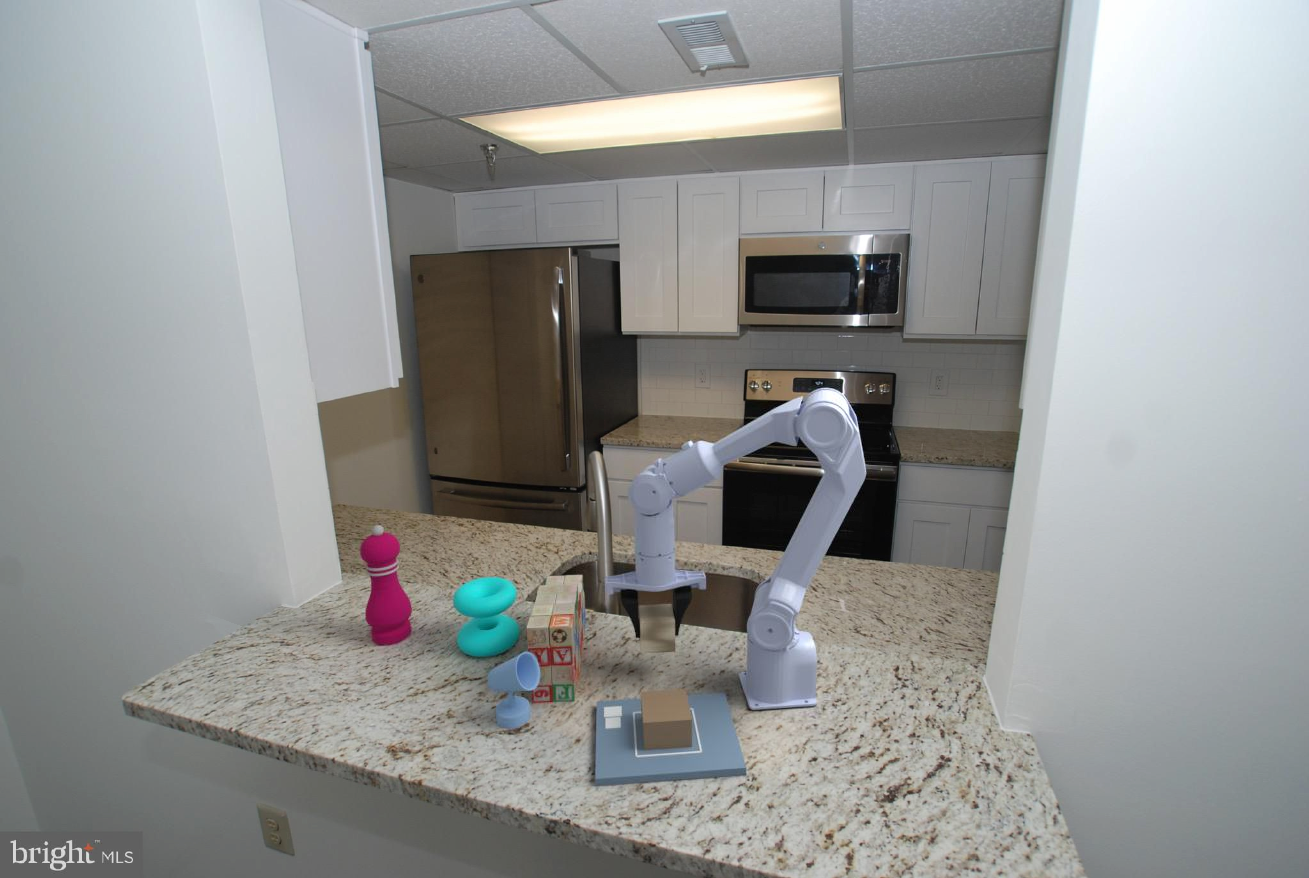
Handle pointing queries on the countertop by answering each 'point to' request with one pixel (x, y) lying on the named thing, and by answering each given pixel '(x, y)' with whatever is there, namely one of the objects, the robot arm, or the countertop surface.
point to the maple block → (657, 628)
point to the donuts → (486, 616)
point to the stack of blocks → (557, 637)
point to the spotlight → (514, 688)
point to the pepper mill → (385, 589)
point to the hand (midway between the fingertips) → (656, 633)
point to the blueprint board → (669, 766)
